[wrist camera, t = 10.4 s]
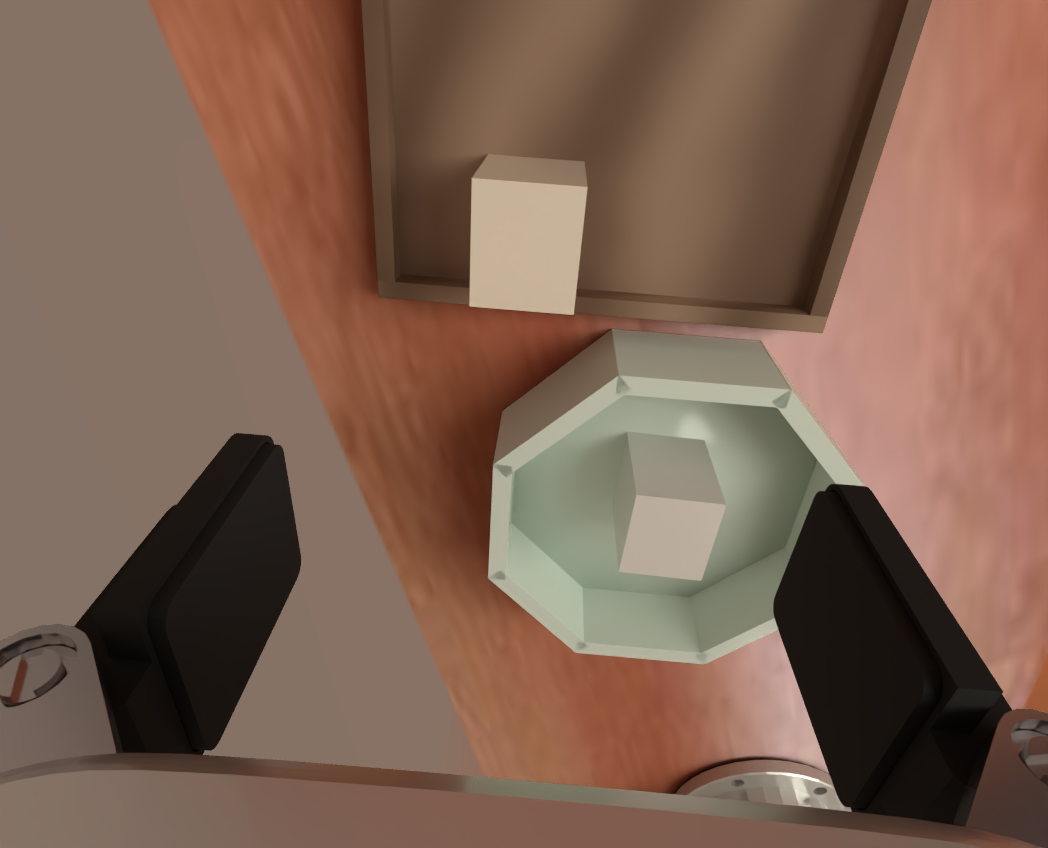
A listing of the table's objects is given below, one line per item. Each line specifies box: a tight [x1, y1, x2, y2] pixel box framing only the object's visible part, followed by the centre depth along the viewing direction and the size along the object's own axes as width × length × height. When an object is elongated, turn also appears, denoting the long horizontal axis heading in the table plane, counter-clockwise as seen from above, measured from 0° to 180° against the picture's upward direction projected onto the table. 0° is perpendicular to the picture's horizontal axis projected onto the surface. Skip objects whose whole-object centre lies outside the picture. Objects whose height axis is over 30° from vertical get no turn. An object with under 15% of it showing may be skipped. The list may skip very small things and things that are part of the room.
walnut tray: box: [361, 0, 932, 333], centre depth 23 cm, size 18×14×2 cm
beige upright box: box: [469, 154, 588, 315], centre depth 23 cm, size 4×4×5 cm
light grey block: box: [612, 432, 726, 581], centre depth 29 cm, size 4×4×5 cm
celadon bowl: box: [488, 329, 866, 664], centre depth 30 cm, size 16×16×4 cm
